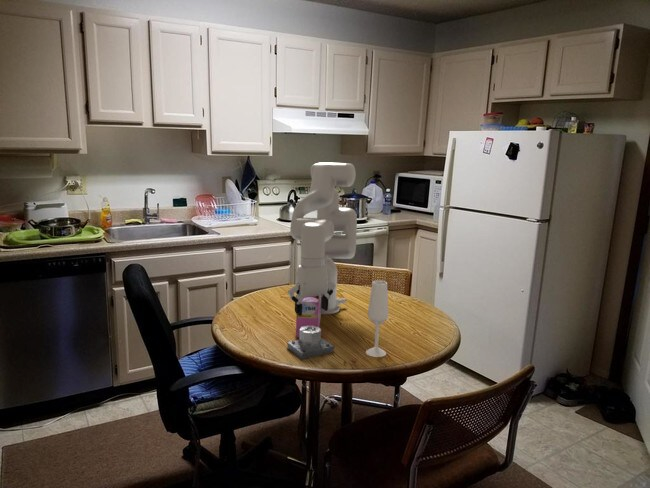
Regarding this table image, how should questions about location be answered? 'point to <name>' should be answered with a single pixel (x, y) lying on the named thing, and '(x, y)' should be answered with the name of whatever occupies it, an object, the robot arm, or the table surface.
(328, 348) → the shaft block
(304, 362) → the table surface
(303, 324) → the gum box
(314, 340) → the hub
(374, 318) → the champagne flute
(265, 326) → the table surface
